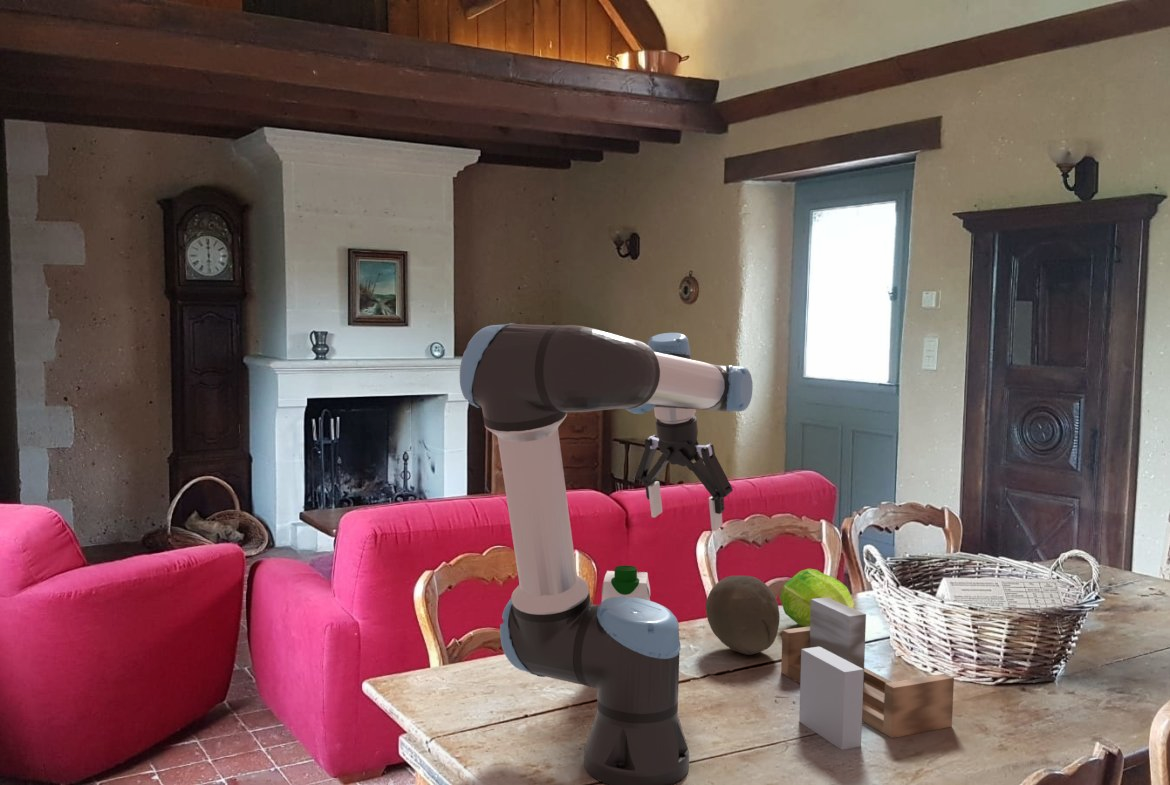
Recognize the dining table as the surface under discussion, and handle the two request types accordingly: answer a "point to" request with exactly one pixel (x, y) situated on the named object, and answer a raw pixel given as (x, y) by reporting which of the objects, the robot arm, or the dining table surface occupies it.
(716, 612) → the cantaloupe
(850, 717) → the gray angular faceted block
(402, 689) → the dining table surface
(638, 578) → the milk carton
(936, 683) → the wooden slotted stand
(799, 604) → the lettuce
